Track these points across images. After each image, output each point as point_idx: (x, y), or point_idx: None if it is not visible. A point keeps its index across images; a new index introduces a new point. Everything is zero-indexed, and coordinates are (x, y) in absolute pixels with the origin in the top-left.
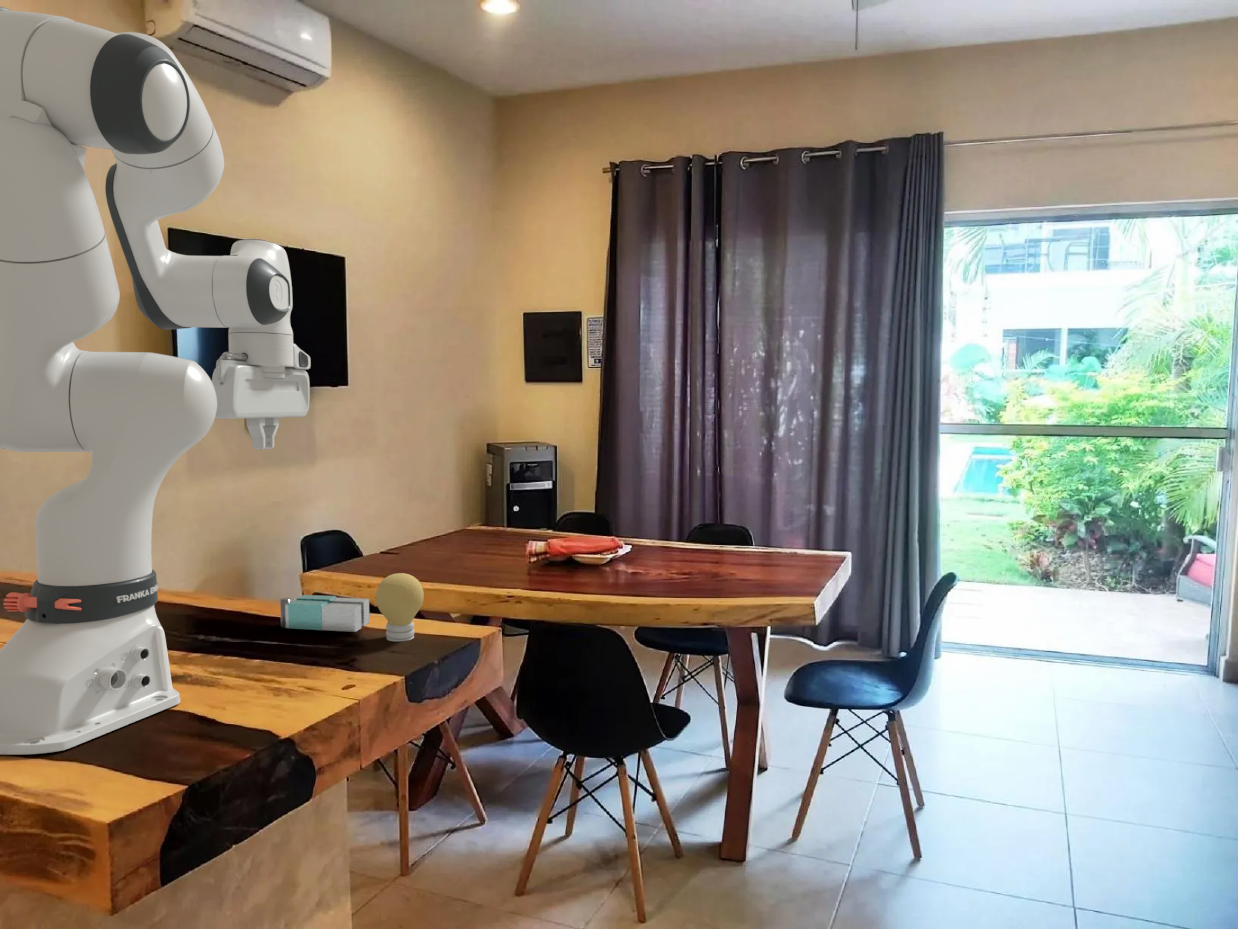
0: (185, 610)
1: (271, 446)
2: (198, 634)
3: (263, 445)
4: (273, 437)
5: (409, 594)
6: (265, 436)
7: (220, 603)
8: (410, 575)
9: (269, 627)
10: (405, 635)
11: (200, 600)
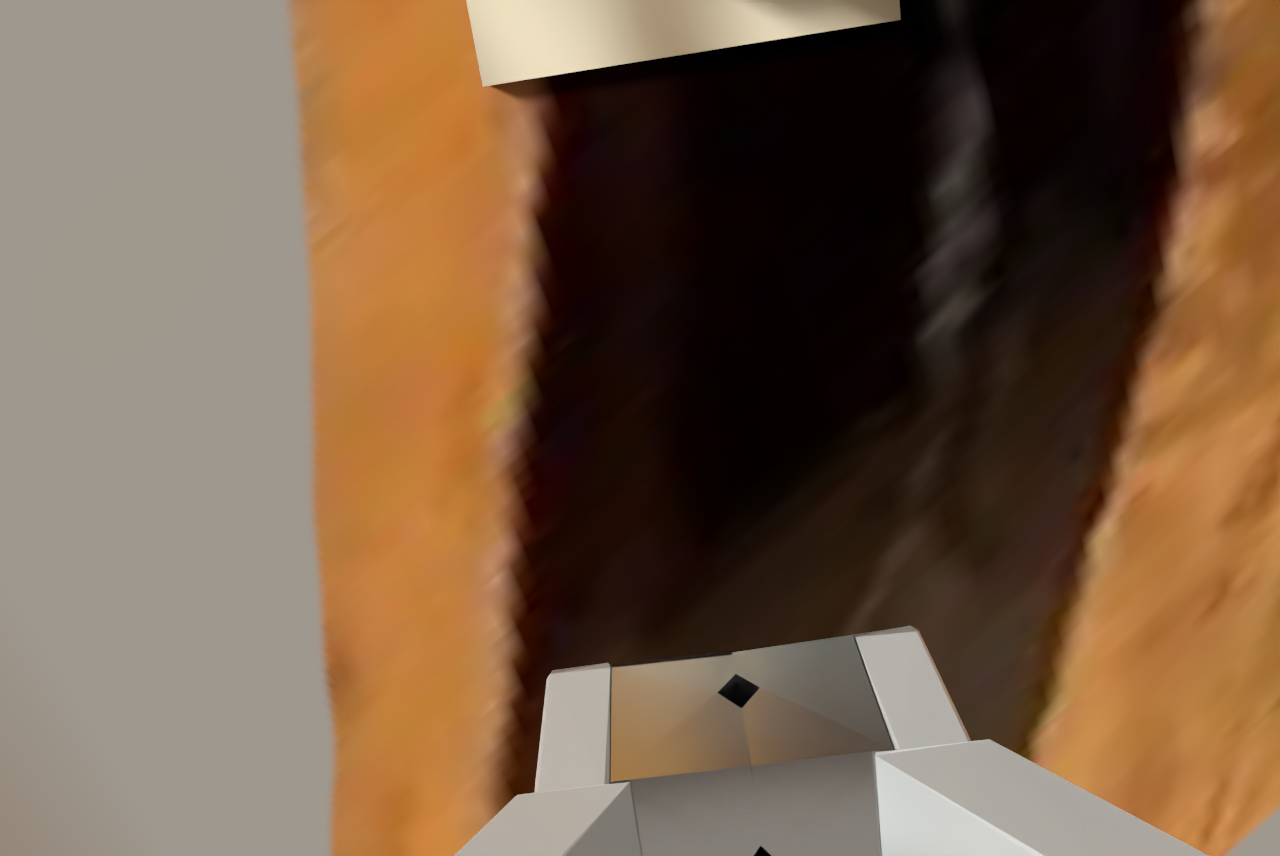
0: None
1: (648, 663)
2: (920, 357)
3: (918, 651)
4: (576, 774)
5: None
6: (888, 763)
7: (428, 654)
8: None
9: (718, 127)
10: None
11: (420, 767)
